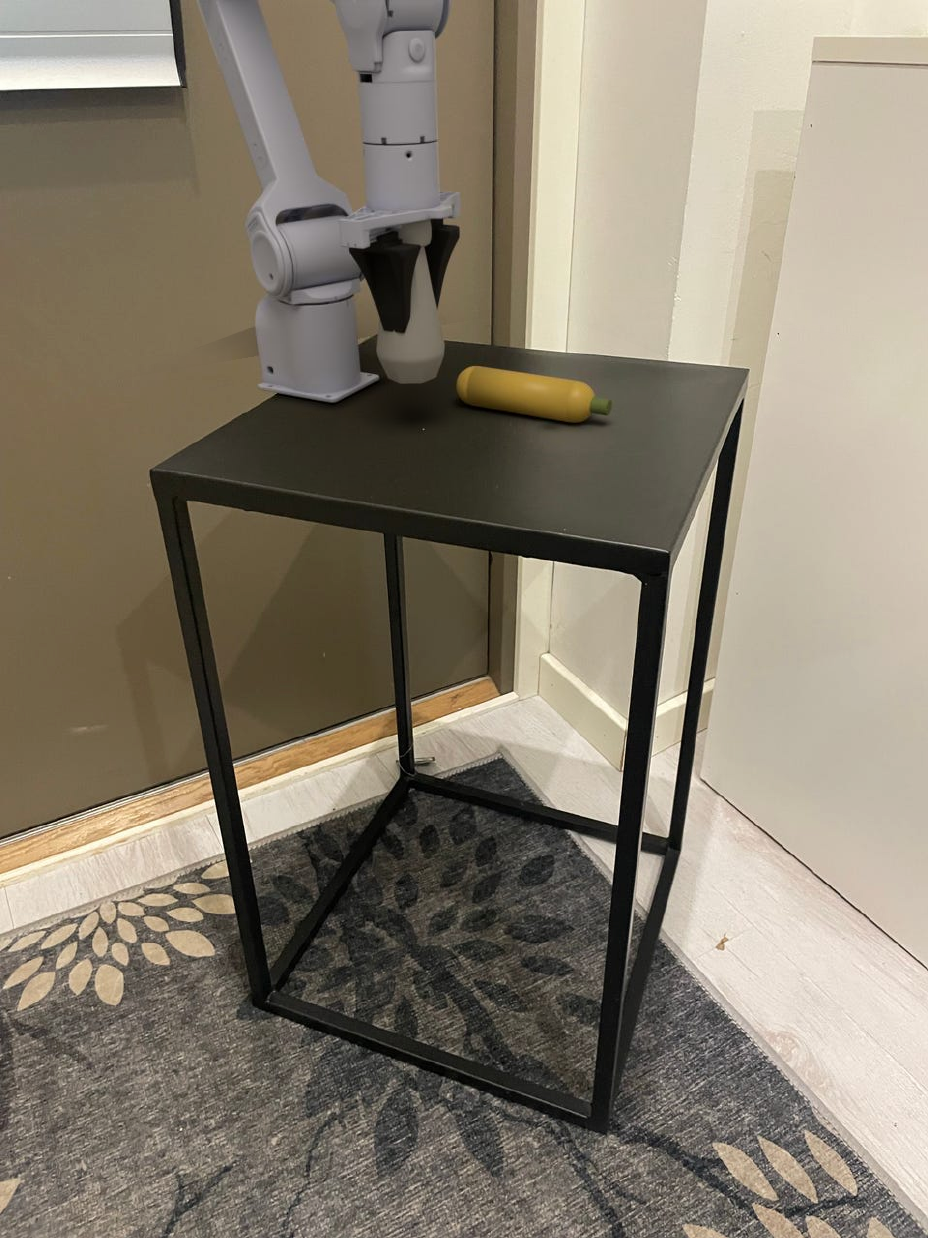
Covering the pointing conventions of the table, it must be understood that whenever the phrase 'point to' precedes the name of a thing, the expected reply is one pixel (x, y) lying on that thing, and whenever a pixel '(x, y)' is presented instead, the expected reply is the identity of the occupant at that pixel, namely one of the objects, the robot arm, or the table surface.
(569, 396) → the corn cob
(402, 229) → the salt shaker
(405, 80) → the robot arm
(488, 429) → the table surface
